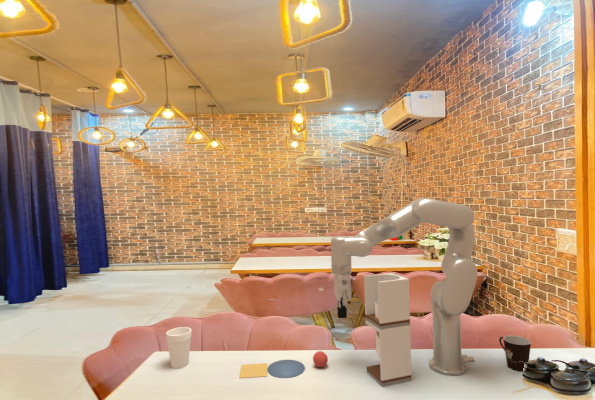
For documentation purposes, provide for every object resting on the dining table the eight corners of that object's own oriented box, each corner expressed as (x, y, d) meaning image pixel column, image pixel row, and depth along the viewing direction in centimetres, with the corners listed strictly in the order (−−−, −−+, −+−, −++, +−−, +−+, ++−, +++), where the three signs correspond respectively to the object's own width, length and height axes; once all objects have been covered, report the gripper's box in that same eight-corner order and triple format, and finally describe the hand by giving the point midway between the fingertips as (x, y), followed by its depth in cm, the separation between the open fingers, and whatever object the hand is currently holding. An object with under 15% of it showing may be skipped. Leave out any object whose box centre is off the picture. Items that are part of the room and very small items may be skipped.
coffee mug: (535, 374, 126) (535, 345, 126) (508, 372, 128) (508, 344, 128) (522, 359, 138) (521, 333, 138) (497, 357, 139) (497, 331, 139)
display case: (394, 367, 134) (391, 272, 134) (411, 380, 124) (408, 278, 124) (366, 372, 131) (364, 275, 130) (382, 386, 121) (379, 282, 120)
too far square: (267, 363, 140) (267, 363, 140) (267, 376, 130) (267, 375, 130) (241, 365, 139) (241, 364, 139) (239, 378, 129) (239, 377, 129)
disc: (303, 359, 143) (302, 358, 143) (306, 376, 129) (306, 376, 129) (267, 361, 142) (267, 360, 142) (267, 379, 128) (267, 378, 128)
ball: (326, 362, 139) (326, 348, 139) (329, 369, 134) (328, 354, 134) (312, 363, 139) (312, 349, 139) (314, 370, 133) (313, 355, 133)
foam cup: (197, 361, 143) (196, 328, 143) (180, 372, 135) (179, 337, 135) (179, 357, 147) (178, 325, 147) (161, 367, 139) (160, 333, 139)
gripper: (355, 272, 130) (356, 323, 130) (346, 264, 144) (347, 310, 145) (335, 273, 129) (336, 324, 129) (328, 265, 144) (329, 311, 144)
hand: (342, 317), depth 137 cm, fingers closed
